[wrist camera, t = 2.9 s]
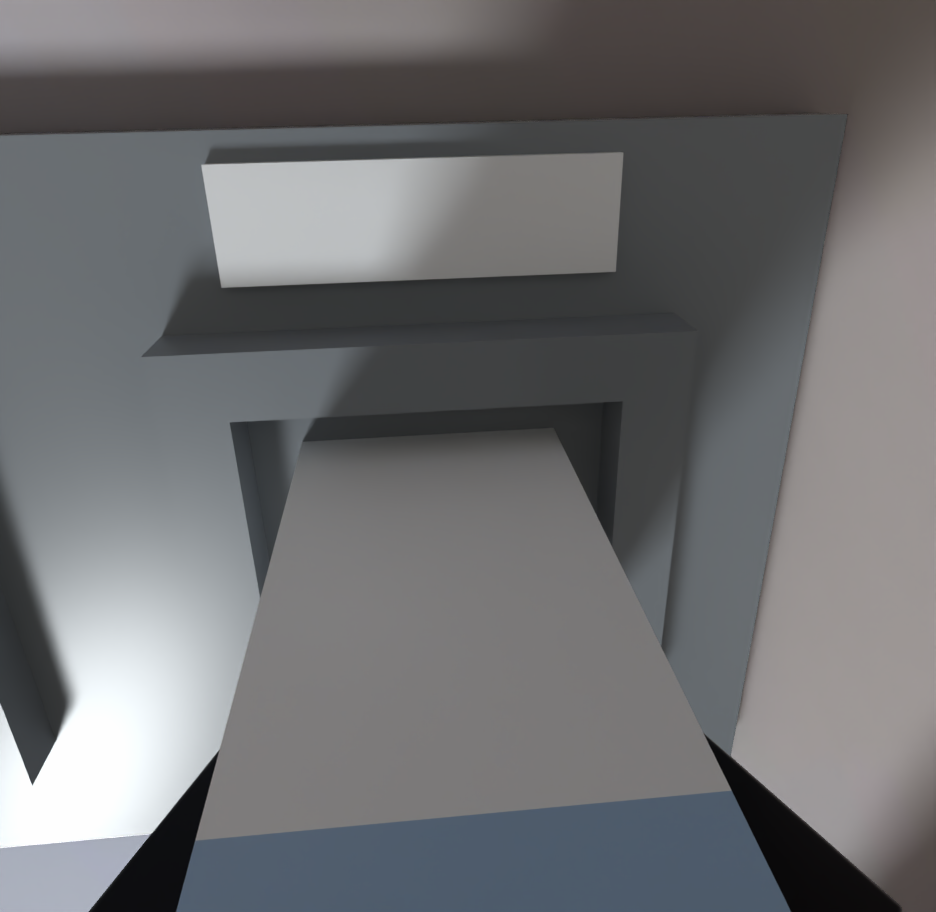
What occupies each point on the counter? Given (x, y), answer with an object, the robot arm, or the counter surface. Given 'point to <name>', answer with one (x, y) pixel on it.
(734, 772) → the robot arm
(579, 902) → the plug
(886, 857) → the counter surface
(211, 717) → the panel
